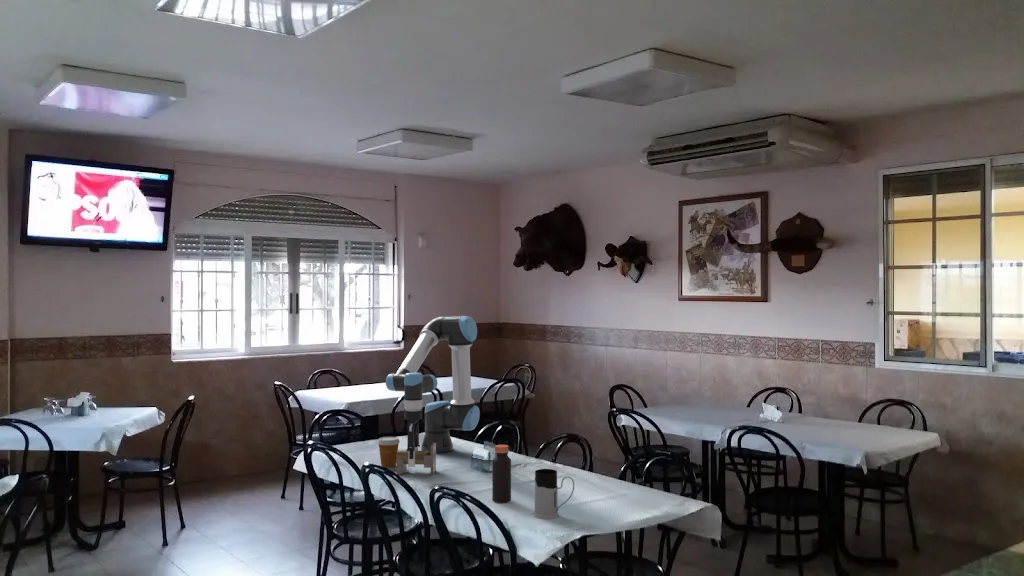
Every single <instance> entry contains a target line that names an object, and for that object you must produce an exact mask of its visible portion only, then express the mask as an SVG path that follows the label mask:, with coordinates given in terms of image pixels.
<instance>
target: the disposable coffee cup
mask: <svg viewBox="0 0 1024 576" xmlns="http://www.w3.org/2000/svg"><path fill="white" fill-rule="evenodd" d="M399 439H400V438H399V437H396V436H382V437H379V438H378V440H377V444H378V449H379V458H380V464H381V465H380V466H381V467H382V466H383V467H382V468H385V467H386V468H389V467H390V468H394V467H396V459H397V451H398V450H399V446H400V445H399V444H400V440H399Z"/></svg>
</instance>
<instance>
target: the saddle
mask: <svg viewBox="0 0 1024 576" xmlns="http://www.w3.org/2000/svg"><path fill="white" fill-rule="evenodd" d="M407 466H408V464H404V459H396V466H395V467H396V471H395V473H397V474H400V476H401V475H404V474H406V472H407Z"/></svg>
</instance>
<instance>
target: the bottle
mask: <svg viewBox="0 0 1024 576" xmlns="http://www.w3.org/2000/svg"><path fill="white" fill-rule="evenodd" d="M494 452H495V456H494V458H492V465H491V466H492V481H491V482H492V492H491V493H492V497H491V498H492V501H493V502H494V503H496V504H505V503H510V502H511V500H512V459H511V458H510V457H509V455H508V454H509V445H508V444H497V445H495V446H494Z"/></svg>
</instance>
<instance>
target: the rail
mask: <svg viewBox="0 0 1024 576" xmlns="http://www.w3.org/2000/svg"><path fill="white" fill-rule="evenodd" d="M424 455H429V451H422V450H418V451H415V465H423V466H424ZM397 459H404V464H407V465H408V451H406V450H399V449H398V451H397Z"/></svg>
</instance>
